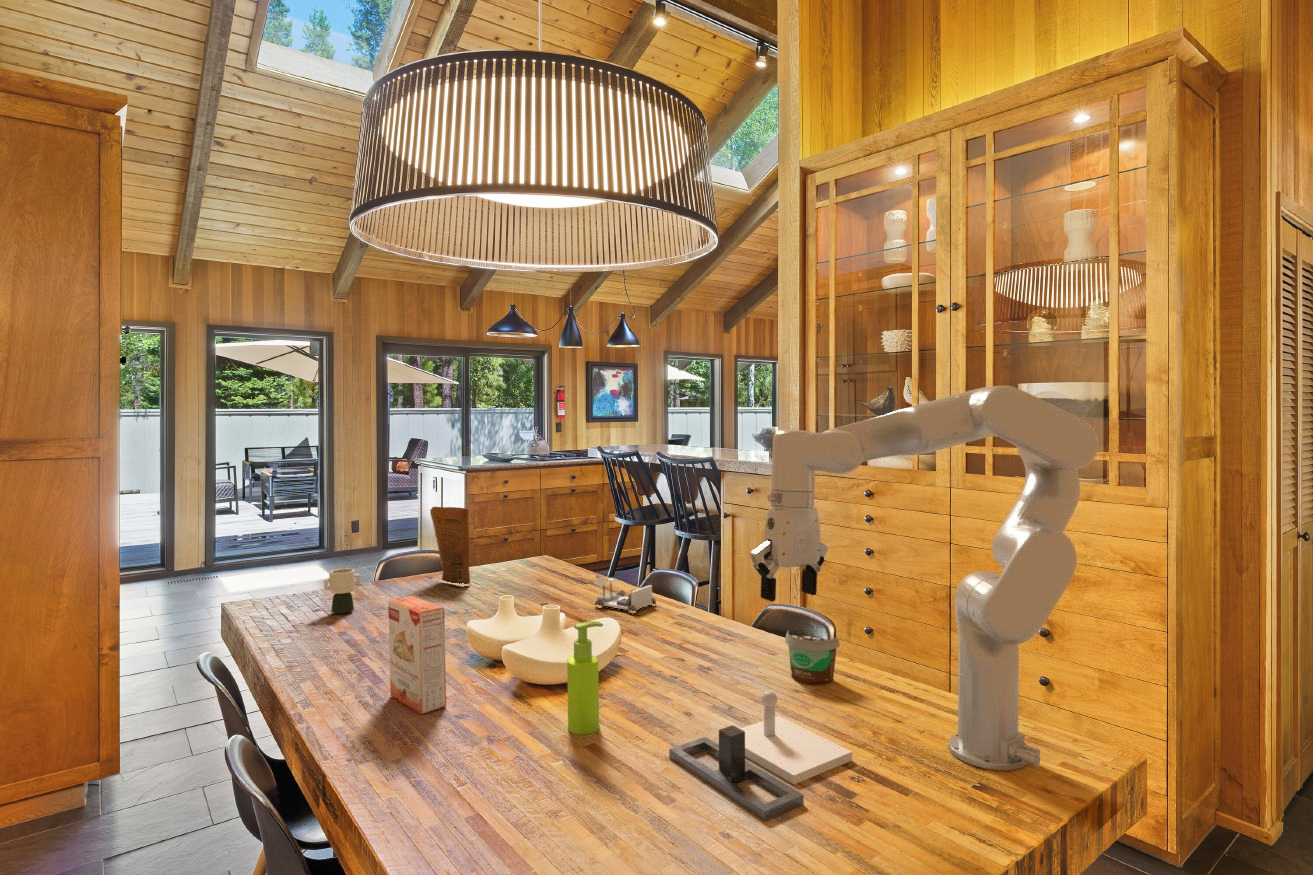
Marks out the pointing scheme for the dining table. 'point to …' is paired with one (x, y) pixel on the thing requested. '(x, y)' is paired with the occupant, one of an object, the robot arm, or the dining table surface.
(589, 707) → the soap dispenser
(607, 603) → the grey tabletop ornament
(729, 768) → the grey frame with handle
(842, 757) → the white pegged base
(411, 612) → the cracker box
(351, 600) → the character mug
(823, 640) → the food container
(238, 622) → the dining table surface
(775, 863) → the dining table surface
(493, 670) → the dining table surface
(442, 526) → the pancake mix bag
